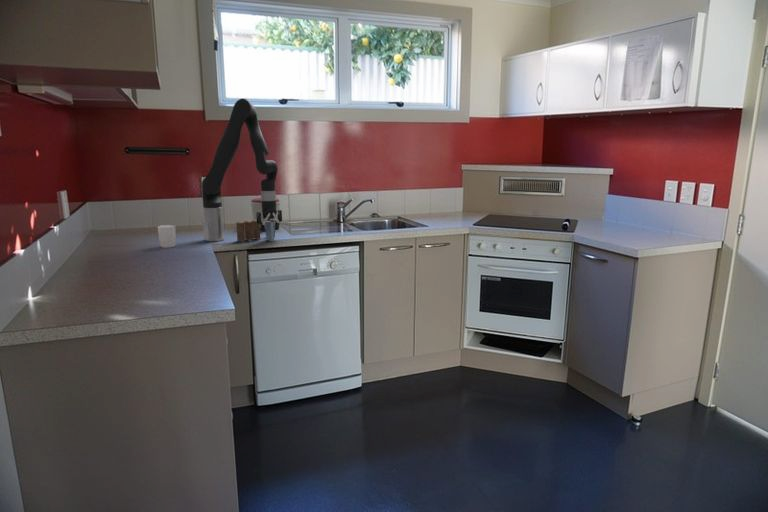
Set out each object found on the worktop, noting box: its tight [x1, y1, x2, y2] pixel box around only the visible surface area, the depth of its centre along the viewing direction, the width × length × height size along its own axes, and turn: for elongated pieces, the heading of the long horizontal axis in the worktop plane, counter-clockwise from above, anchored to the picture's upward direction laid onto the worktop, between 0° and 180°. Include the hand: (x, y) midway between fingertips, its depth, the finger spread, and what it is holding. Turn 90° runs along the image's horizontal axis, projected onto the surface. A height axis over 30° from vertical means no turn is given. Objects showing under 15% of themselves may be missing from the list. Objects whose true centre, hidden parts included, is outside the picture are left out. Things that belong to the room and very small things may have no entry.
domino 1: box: [236, 221, 246, 243], centre depth 264 cm, size 2×5×10 cm, turn 45°
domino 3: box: [251, 220, 261, 240], centre depth 271 cm, size 2×5×10 cm, turn 45°
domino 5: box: [265, 221, 275, 242], centre depth 267 cm, size 2×5×10 cm, turn 45°
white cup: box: [157, 224, 176, 249], centre depth 250 cm, size 8×8×10 cm
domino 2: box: [243, 220, 254, 241], centre depth 268 cm, size 2×5×10 cm, turn 45°
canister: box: [249, 197, 281, 231], centre depth 304 cm, size 18×18×21 cm
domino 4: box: [267, 219, 276, 238], centre depth 277 cm, size 2×5×10 cm, turn 45°
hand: (270, 230), depth 267 cm, fingers open, 7 cm apart
